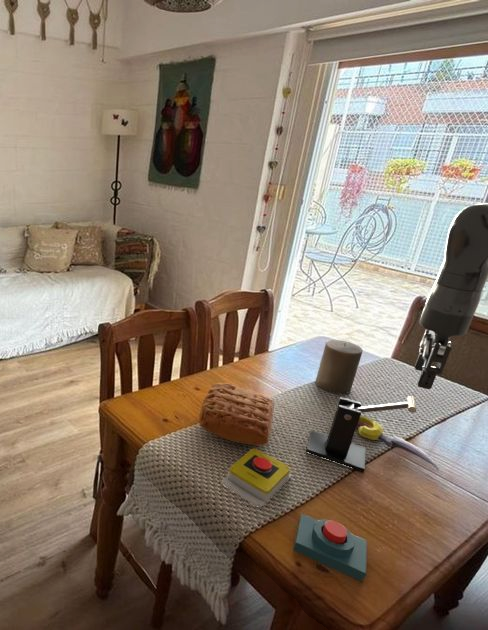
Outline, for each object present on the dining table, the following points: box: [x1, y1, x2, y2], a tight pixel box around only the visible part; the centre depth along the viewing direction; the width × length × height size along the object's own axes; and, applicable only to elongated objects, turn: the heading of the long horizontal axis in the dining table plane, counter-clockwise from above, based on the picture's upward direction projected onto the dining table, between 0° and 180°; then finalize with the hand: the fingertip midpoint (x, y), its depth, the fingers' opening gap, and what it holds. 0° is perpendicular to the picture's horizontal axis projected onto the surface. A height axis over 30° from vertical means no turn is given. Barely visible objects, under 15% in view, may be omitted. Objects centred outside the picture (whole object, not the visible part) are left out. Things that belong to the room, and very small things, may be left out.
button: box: [323, 520, 348, 544], centre depth 80 cm, size 4×4×2 cm
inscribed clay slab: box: [198, 382, 275, 446], centre depth 114 cm, size 22×17×8 cm
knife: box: [334, 410, 440, 472], centre depth 111 cm, size 8×3×25 cm
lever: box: [342, 395, 417, 414], centre depth 99 cm, size 14×5×2 cm, turn 56°
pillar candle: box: [314, 339, 364, 395], centre depth 133 cm, size 10×10×15 cm
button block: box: [292, 513, 368, 583], centre depth 81 cm, size 11×8×4 cm
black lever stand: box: [305, 396, 366, 474], centre depth 104 cm, size 12×9×14 cm
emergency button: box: [221, 447, 292, 508], centre depth 97 cm, size 9×4×15 cm
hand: (421, 378), depth 92 cm, fingers open, 8 cm apart
